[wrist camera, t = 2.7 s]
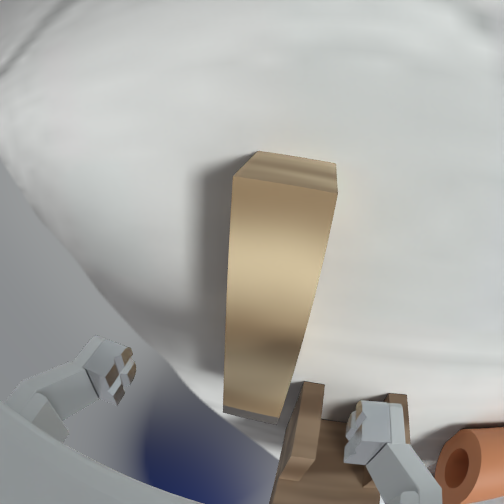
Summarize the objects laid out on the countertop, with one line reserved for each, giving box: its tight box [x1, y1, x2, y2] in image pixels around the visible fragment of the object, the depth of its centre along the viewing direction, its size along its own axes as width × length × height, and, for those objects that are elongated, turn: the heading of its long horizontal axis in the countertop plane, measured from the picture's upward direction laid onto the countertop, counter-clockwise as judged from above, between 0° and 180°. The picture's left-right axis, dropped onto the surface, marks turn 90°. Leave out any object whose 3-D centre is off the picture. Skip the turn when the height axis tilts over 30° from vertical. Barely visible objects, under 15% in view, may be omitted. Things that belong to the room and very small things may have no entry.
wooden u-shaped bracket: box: [269, 381, 410, 504], centre depth 18 cm, size 8×8×10 cm
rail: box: [223, 151, 338, 425], centre depth 16 cm, size 15×4×4 cm, turn 175°
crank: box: [434, 427, 504, 504], centre depth 22 cm, size 20×8×8 cm, turn 175°
